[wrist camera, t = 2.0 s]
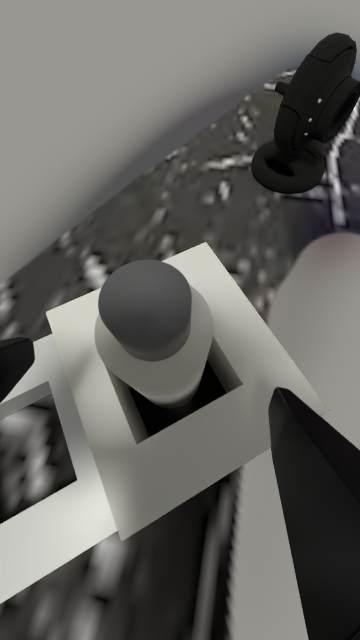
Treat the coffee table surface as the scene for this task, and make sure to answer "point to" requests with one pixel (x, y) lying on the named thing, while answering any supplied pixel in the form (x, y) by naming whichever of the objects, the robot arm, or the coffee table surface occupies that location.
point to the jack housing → (141, 426)
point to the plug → (154, 331)
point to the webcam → (310, 114)
